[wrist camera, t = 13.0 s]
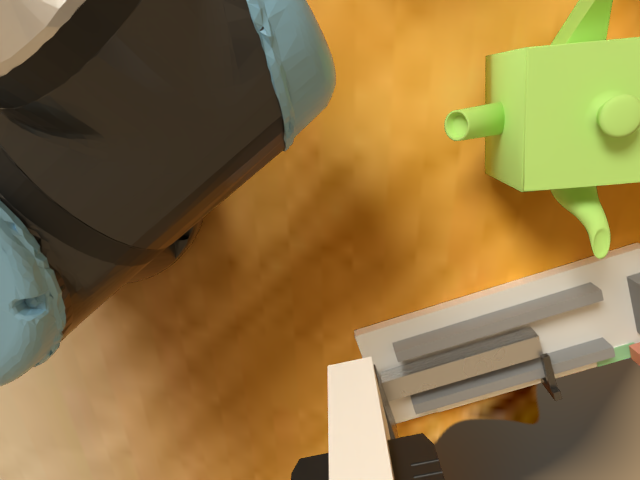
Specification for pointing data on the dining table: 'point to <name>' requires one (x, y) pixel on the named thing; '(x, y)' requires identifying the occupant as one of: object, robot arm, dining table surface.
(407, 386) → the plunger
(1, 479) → the dining table surface
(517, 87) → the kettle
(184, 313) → the dining table surface
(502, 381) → the base
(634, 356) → the small salmon eraser
